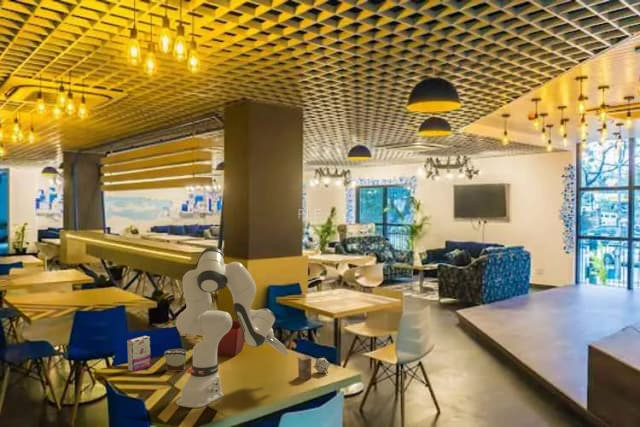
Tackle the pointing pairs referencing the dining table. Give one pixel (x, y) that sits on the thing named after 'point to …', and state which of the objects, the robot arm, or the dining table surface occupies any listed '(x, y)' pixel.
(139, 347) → the candy bar box
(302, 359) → the walnut block
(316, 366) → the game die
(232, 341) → the plant pot
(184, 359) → the food container
